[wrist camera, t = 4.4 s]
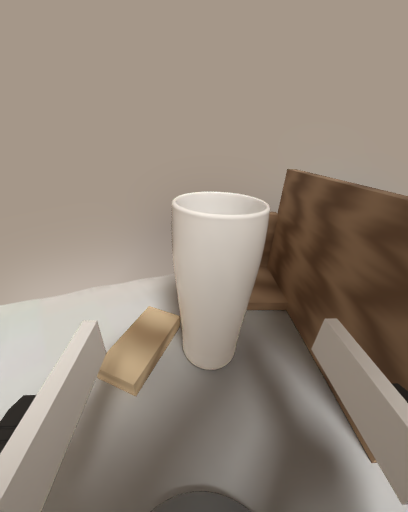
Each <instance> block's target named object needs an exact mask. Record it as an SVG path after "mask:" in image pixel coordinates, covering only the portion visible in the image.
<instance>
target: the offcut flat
mask: <svg viewBox="0 0 408 512" xmlns="http://www.w3.org/2000/svg"><path fill="white" fill-rule="evenodd" d="M179 327H180V316H178V315H175V314H172V313H169V312H165V311H162V310H159V309H156V308H153V307H150V306H149V307H148V308H147V309H146V310H145V311H144V312H143V313H142V314H141V315H140V317H139V318H138V319H137V320H136V321H135V322H134V323H133V324H132V325H131V326H130V328H129V329H128V330H127V331H126V332H125V333H124V334H123V335H122V336H121V337H120V339H119V340H118V341H117V342H116V343H115V344H114V345H113V346H112V347H111V348H110V350H109V351H108V352H107V353H106V355H105V358H104V360H103V363H102V365H101V367H100V370H99V372H98V375H97V377H98V378H99V379H101V380H103V381H105V382H107V383H109V384H111V385H113V386H115V387H117V388H119V389H121V390H124V391H126V392H128V393H130V394H132V395H134V396H137V394H138V393H139V391H140V389H141V388H142V386H143V385H144V383H145V381H146V380H147V378H148V377H149V375H150V373H151V372H152V370H153V369H154V367H155V366H156V364H157V362H158V361H159V359H160V358H161V356H162V354H163V353H164V351H165V350H166V348H167V346H168V345H169V343H170V342H171V340H172V338H173V337H174V335H175V334H176V332H177V331H178V329H179Z"/></svg>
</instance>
